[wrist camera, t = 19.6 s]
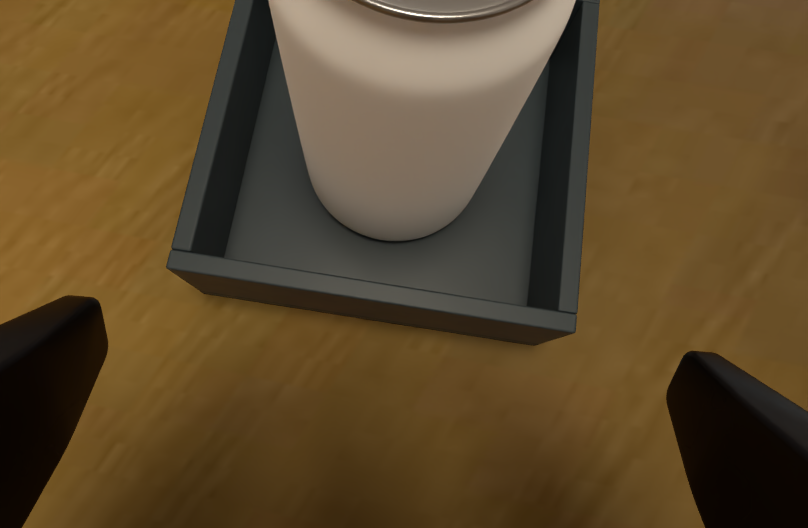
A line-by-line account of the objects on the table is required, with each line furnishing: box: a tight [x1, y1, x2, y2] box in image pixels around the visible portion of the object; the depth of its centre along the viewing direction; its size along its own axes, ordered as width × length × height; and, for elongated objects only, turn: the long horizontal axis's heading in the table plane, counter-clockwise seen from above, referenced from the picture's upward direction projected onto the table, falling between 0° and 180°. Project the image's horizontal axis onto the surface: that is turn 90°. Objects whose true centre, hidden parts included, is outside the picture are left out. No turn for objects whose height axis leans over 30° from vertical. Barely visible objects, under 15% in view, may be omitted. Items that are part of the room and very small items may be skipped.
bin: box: [166, 0, 600, 346], centre depth 20 cm, size 12×12×4 cm
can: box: [268, 0, 576, 241], centre depth 15 cm, size 6×6×12 cm
